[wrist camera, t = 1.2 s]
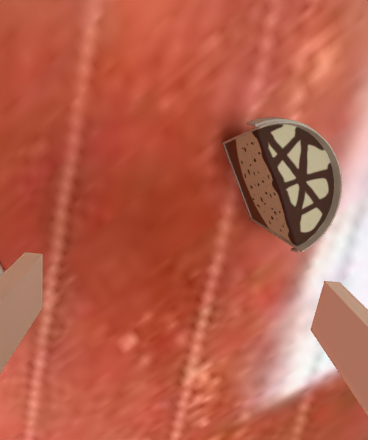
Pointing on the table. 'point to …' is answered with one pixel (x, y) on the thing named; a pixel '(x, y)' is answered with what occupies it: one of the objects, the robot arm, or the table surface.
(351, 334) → the robot arm
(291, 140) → the food container
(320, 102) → the table surface
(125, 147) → the table surface
